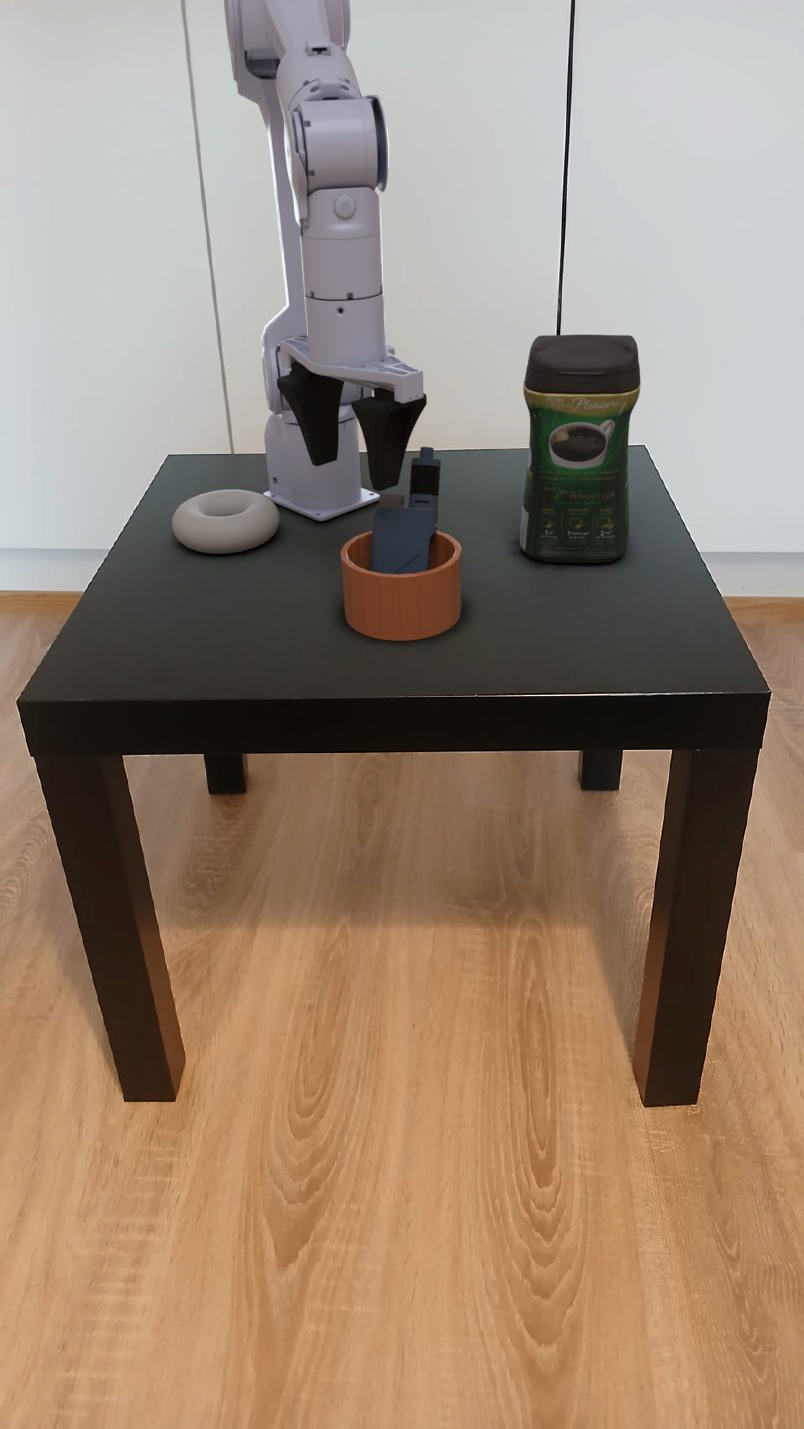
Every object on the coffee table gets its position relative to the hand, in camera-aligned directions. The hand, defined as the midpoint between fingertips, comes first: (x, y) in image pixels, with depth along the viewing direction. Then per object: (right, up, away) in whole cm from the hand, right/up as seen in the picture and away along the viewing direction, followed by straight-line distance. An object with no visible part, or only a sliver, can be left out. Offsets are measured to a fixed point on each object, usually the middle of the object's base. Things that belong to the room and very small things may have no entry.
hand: (354, 474), depth 83 cm
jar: (+4, -11, +2) cm, 12 cm away
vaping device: (+4, -10, +2) cm, 11 cm away
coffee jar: (+19, -4, +12) cm, 23 cm away
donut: (-13, -2, +16) cm, 21 cm away
